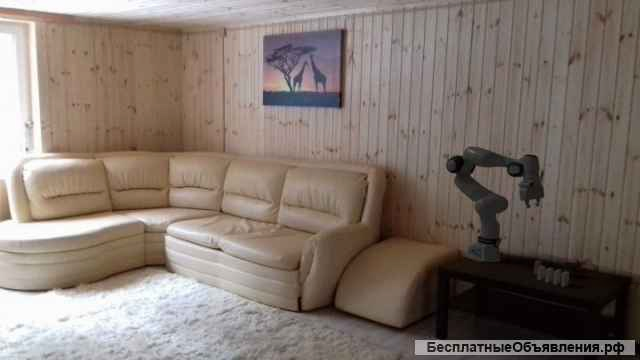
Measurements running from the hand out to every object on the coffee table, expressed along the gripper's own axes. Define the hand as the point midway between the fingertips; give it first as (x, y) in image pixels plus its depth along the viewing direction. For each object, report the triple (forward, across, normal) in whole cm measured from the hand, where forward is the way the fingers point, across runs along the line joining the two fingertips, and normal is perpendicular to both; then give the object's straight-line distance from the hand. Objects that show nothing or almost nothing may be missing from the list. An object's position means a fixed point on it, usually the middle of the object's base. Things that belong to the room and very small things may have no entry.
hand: (532, 207), depth 327 cm
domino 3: (+38, +12, +14) cm, 42 cm away
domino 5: (+39, +12, +23) cm, 47 cm away
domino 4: (+39, +12, +19) cm, 45 cm away
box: (+39, -8, +17) cm, 43 cm away
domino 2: (+38, +12, +10) cm, 41 cm away
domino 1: (+37, +3, +3) cm, 37 cm away
